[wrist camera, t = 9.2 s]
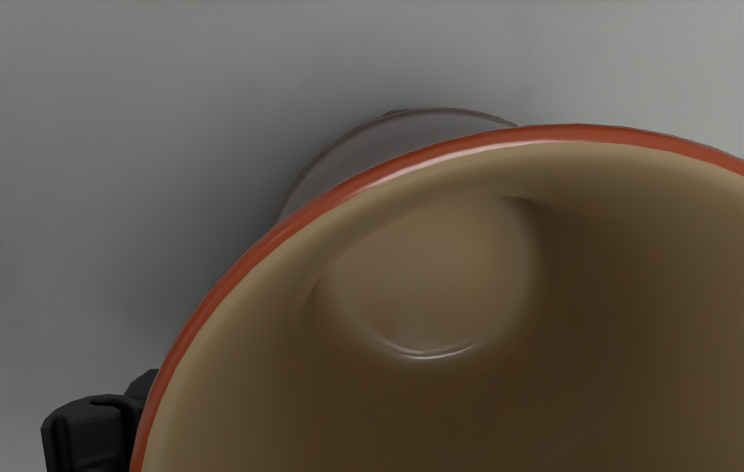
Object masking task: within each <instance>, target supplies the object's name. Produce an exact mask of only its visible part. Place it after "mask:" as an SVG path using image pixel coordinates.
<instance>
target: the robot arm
mask: <svg viewBox="0 0 744 472" xmlns="http://www.w3.org/2000/svg"><path fill="white" fill-rule="evenodd" d="M158 371H159V369H150V370H148V371H147V372H145V373H144V374H143V375H141V376H140V377H138V378H137V379H135V380H134V381H133V382H131V384H130V385H129V387H128V389H127V390H126V392H125V394H124V395H114V394H105V395H96V396H89V397H85V398H82V399H79V400H75V401H72V402H70V403H68V404H66V405H64V406H62V407H60V408H58V409H56V410H54V411H53V412H52V413H51V414H50V415H49V416H48V417H46V418H45V419H44V422H43V424H42V427H41V435H42V442H43V448H44V455H45V461H46V468H47V472H129V470H130V461H131V456H132V451H133V447H134V442H135V437H136V433H137V428H138V424H139V421H140V418H141V415H142V412H143V409H144V406H145V403H146V400H147V397H148V394H149V391H150V388H151V386H152V384H153V382H154V380H155V377H156V375H157V373H158Z"/></svg>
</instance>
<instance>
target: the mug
mask: <svg viewBox="0 0 744 472" xmlns="http://www.w3.org/2000/svg"><path fill="white" fill-rule="evenodd" d="M129 472H744V160H743V159H741V158H738V157H736V156H733V155H731V154H729V153H726V152H724V151H721V150H719V149H716V148H714V147H711V146H708V145H704V144H701V143H697V142H694V141H691V140H687V139H684V138H680V137H677V136H673V135H669V134H664V133H658V132H653V131H647V130H641V129H636V128H630V127H621V126H608V125H594V124H579V123H575V124H539V125H526V126H518V125H516V124H514V123H512V122H509V121H507V120H504V119H502V118H499V117H496V116H493V115H489V114H486V113H482V112H477V111H472V110H466V109H456V108H420V109H405V110H397V111H391V112H388V113H386V114H384V115H382V116H381V117H379V118H377V119H376V120H374V121H372V122H369V123H367V124H365V125H363V126H361V127H358V128H356V129H355V130H353V131H351V132H350V133H348V134H346V135H344V136H343V137H341V138H340V139H338V140H337V141H335V142H334V143H333V144H331V145H330V146H328V147H327V148H326V149H325V150H324V151H323V152H321V153H320V154H319V155H318V156H317V157H316V158H315V159H313V161H312V162H311V163H310V164H309V165H308V166H307V167H306V168H305V169H304V170H303V171H302V172H301V174H300V175H299V176H298V178H297V179H296V180H295V182H294V183H293V184H292V185H291V187H290V189H289V190H288V192H287V194H286V195H285V197H284V198H283V200H282V202H281V204H280V206H279V208H278V210H277V212H276V214H275V217H274V219H273V222H272V225H271V228H270V230H269V231H268V232H267V233H266V234H265V235H263V236H262V237H261V238H260V239H259V240H258V241H256V242H255V243H254V244H253V245H252V246H251V247H249V248H248V249H247V250H246V251H245V252H244V253H243V254H242V255H241V256H240V257H239V258H238V259H237V260H236V262H235V263H234V264H233V265H232V266H231V267H230V268H229V269H228V270H227V271H226V272H225V273H224V274H223V275H222V276H221V277H220V278H219V280H218V281H217V282H216V283H215V284H214V285H213V286H212V288H211V289H210V290H209V292H208V293H207V294H206V295H205V297H204V298H203V299H202V301H201V302H200V303H199V305H198V306H197V307H196V309H195V310H194V311H193V312H192V314H191V315H190V316H189V318H188V319H187V321H186V322H185V324H184V326H183V327H182V329H181V331H180V332H179V334H178V336H177V337H176V339H175V341H174V342H173V344H172V345H171V347H170V349H169V350H168V352H167V354H166V356H165V358H164V360H163V362H162V365H161V367H160V369H159V371H158V373H157V375H156V377H155V380H154V382H153V384H152V386H151V388H150V391H149V394H148V397H147V400H146V403H145V406H144V409H143V412H142V415H141V418H140V421H139V424H138V428H137V433H136V437H135V442H134V447H133V451H132V456H131V461H130V470H129Z"/></svg>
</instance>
